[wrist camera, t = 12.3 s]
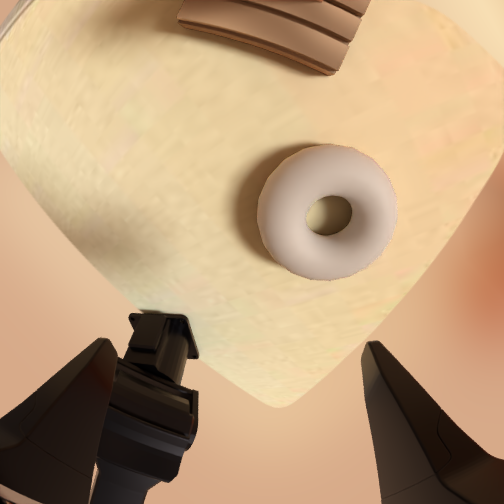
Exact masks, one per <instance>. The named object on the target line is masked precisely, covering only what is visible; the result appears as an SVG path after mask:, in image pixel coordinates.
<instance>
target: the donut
mask: <svg viewBox="0 0 504 504" xmlns="http://www.w3.org/2000/svg"><path fill="white" fill-rule="evenodd" d="M331 195H334V196H341V197H343V198H345V199H346V200H347V201H348V202H349V203H350V205H351V207H352V217H351V220H350V222H349V224H348V225H347V226H346V227H345V228H344V229H343V230H342V231H340V232H338V233H336V234H333V235H328V236H324V235H319V234H316V233H314V232H313V231H312V230H311V229H309V227H308V225H307V221H306V216H307V213H308V211H309V209H310V207H311V206H312V205H313V204H314V203H315V202H316V201H317V200H319V199H321V198H323V197H325V196H331ZM396 223H397V196H396V193H395V191H394V188H393V186H392V183H391V180H390V178H389V176H388V175H387V174H386V173H385V171H384V170H383V169H382V168H381V167H380V166H379V165H378V163H377V162H376V161H375V160H374V159H373V158H371V157H369V156H368V155H366V154H364V153H362V152H360V151H359V150H357V149H355V148H352V147H346V146H340V145H333V144H325V145H319V146H313V147H308V148H304V149H302V150H301V151H299V152H297V153H295V154H293V155H291V156H290V157H288V158H286V159H284V160H283V161H282V162H281V164H280V165H279V166H278V167H277V168H276V169H275V170H274V171H273V172H272V173H271V174H270V176H269V177H268V178H267V180H266V183H265V185H264V187H263V190H262V192H261V194H260V196H259V199H258V210H257V224H258V227H259V231H260V235H261V238H262V242H263V245H264V246H265V247H266V249H267V250H268V252H269V253H270V254H271V256H272V257H273V259H274V260H275V261H276V262H278V263H279V264H280V265H282V266H283V267H284V268H286V269H287V270H288V271H290V272H291V273H293V274H296V275H299V276H301V277H304V278H307V279H310V280H324V281H331V280H336V279H341V278H346V277H350V276H352V275H354V274H356V273H358V272H360V271H362V270H364V269H366V268H367V267H368V266H369V265H371V264H372V263H373V262H374V261H375V260H376V259H377V258H379V257H380V256H381V255H382V253H383V252H384V250H385V249H386V247H387V245H388V244H389V242H390V241H391V239H392V236H393V233H394V230H395V226H396Z"/></svg>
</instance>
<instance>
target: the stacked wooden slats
mask: <svg viewBox="0 0 504 504" xmlns="http://www.w3.org/2000/svg"><path fill="white" fill-rule="evenodd" d="M370 1H371V0H323V2H322V3H321V2H319V1H317V0H184V2H183V4H182V6H181V8H180V10H179V13H178V15H177V17H176V18H177V19H179V21H178V23H179V24H180V25H181V26H183V27H184V28H189V29H194V30H198V31H203V32H207V33H211V34H215V35H219V36H223V37H227V38H231V39H234V40H238V41H241V42H244V43H247V44H251V45H254V46H257V47H260V48H263V49H266V50H268V51H271V52H274V53H277V54H279V55H282V56H285V57H287V58H290V59H292V60H295V61H297V62H299V63H302V64H304V65H306V66H309V67H311V68H313V69H315V70H318V71H320V72H322V73H324V74H326V75H328V76H331V75H334V74H335V72H336V71H338V70H339V68H340V66H341V64H342V62H343V60H344V57H345V55H346V53H347V51H348V49H349V46H348V44H349V43H350V42H351V41H352V40H353V38H354V36H355V34H356V31H357V29H358V27H359V25H360V23H361V21H362V19H360V18H361V17H362V16H363V15H364V14H365V12H366V10H367V7H368V5H369V3H370Z"/></svg>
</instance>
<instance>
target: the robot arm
mask: <svg viewBox="0 0 504 504" xmlns="http://www.w3.org/2000/svg"><path fill="white" fill-rule="evenodd" d="M128 318H129V321H130V323H131V325H132V327H133V329H134V332H133V335H132V337H131V339H130V341H129V344H128V346H129V347H128V349H127V351H126V354H125V356H124V358H123V359H122V358H120V357H118V355H117V351H116V350H115V348H114V346H113V345H112V343H111V341H110V340H109V339H107V338H98V339H96V340H95V341H94V342H93V343H92V344H90V345H89V346H88V347H87V348H86V349H84V350H83V351H82V352H81V353H80V354H79V355H77V356H76V357H75V358H74V359H72V360H71V361H70V362H69V363H68V364H66V365H65V366H64V367H63V368H62V369H61V370H59V371H58V372H57V373H56V374H55V375H54V376H52V377H51V378H50V379H49V380H48V381H47V382H45V383H44V384H43V385H42V386H41V387H40V388H38V389H37V391H35V392H34V393H33V394H32V395H30V396H29V397H28V398H27V399H26V400H24V401H23V402H22V403H21V404H19V405H18V406H17V407H15V408H14V409H13V410H11V411H10V412H9V413H8V414H6V415H5V416H3V417H2V418H1V419H0V504H144V500H145V497H146V494H147V492H148V490H149V489H150V488H152V487H153V486H155V485H156V484H158V483H159V482H161V481H163V482H167V483H169V482H170V481H172V480H173V479H174V478H175V477H176V476H177V474H178V471H179V467H180V463H181V460H182V456H183V453H184V451H187V450H188V449H189V448H190V447H191V445H192V444H193V441H194V439H195V436H196V433H197V428H198V391H196V390H191V389H188V388H186V387H183V386H181V385H180V384H181V380H182V376H183V372H184V367H185V364H186V360H187V359H198V358H199V352H198V349H197V346H196V343H195V340H194V336H193V333H192V330H191V327H190V323H189V320H188V318H187V317H186V316H183V315H160V314H140V313H131V314H130V315H129V317H128ZM182 320H184V321H182ZM361 366H362V374H363V385H364V394H365V395H364V396H365V403H366V409H367V413H368V418H369V423H370V429H371V434H372V440H373V445H374V451H375V458H376V464H377V470H378V477H379V485H380V493H381V502H382V504H504V460H503V459H499V458H496V457H494V456H492V455H490V454H488V453H487V452H486V451H485V450H483V449H482V448H481V447H480V446H479V445H478V444H477V443H476V442H474V440H472V439H471V438H470V437H469V436H468V435H467V434H466V433H465V432H464V431H463V430H461V428H459V427H458V426H457V425H456V424H455V422H453V420H452V419H451V418H450V417H449V416H448V415H447V414H446V413H445V412H444V410H442V409H441V407H440V406H439V405H438V404H437V403H436V402H435V401H434V400H433V398H432V397H431V396H430V395H429V394H428V393H427V392H426V391H425V389H424V388H423V387H422V386H421V385H420V384H419V383H418V382H417V381H416V380H415V379H414V378H413V376H412V375H411V374H410V373H409V372H408V371H407V370H406V369H405V368H404V367H403V366H402V365H401V364H400V362H399V361H398V360H397V359H396V358H395V357H394V356H393V355H392V354H391V353H390V352H389V351H388V350H387V349H386V348H385V347H384V345H383V344H382V343H381V342H380V341H368V342H367V343H366V345H365V348H364V351H363V353H362V357H361ZM95 462H96V465H97V468H98V469H97V472H96V476H95V479H94V483H93V486H92V490H91V483H92V476H93V471H94V466H95ZM90 490H91V493H90Z"/></svg>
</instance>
